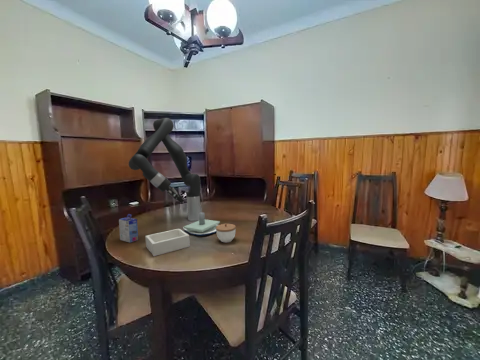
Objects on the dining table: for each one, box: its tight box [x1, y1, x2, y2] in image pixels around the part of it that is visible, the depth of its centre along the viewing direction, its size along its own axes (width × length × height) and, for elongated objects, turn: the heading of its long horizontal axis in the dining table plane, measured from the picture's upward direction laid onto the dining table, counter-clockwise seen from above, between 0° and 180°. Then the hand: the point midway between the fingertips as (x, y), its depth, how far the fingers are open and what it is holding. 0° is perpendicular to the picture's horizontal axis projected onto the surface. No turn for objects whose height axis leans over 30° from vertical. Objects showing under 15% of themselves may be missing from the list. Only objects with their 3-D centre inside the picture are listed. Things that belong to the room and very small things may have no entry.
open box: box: [144, 228, 191, 257], centre depth 118 cm, size 18×14×6 cm
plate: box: [182, 224, 219, 237], centre depth 142 cm, size 20×20×3 cm
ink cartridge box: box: [118, 213, 139, 243], centre depth 128 cm, size 10×6×14 cm, turn 58°
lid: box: [182, 211, 221, 232], centre depth 141 cm, size 18×14×9 cm
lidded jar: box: [215, 223, 237, 243], centre depth 124 cm, size 11×11×9 cm
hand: (181, 200), depth 135 cm, fingers open, 8 cm apart
